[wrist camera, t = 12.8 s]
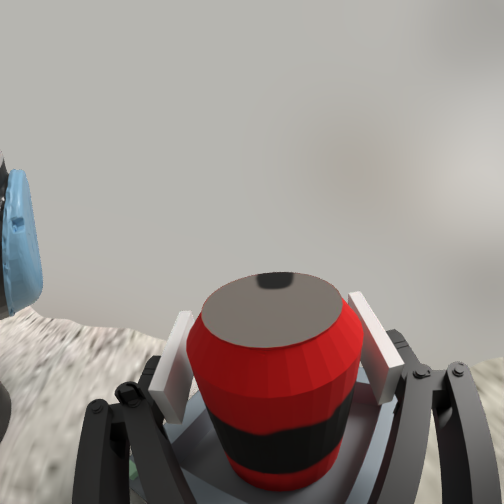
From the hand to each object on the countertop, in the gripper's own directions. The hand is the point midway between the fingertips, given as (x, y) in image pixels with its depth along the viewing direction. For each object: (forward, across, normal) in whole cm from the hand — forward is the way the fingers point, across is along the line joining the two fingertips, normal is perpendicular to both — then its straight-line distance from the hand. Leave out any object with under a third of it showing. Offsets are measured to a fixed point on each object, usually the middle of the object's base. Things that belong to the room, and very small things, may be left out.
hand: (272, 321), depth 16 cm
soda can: (-5, 0, -8) cm, 9 cm away
